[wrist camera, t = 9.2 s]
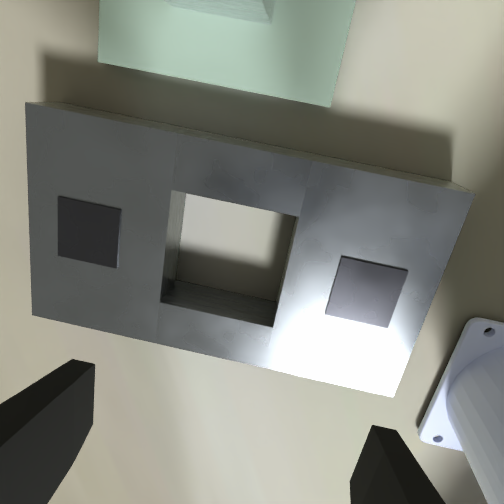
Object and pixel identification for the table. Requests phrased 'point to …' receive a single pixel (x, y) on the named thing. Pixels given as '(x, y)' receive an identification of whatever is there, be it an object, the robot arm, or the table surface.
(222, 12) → the steel peg
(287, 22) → the rubber pad
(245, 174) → the plate with square hole
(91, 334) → the table surface
